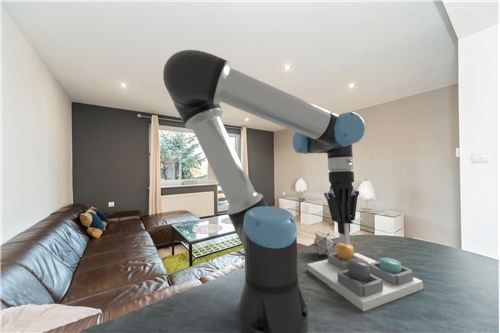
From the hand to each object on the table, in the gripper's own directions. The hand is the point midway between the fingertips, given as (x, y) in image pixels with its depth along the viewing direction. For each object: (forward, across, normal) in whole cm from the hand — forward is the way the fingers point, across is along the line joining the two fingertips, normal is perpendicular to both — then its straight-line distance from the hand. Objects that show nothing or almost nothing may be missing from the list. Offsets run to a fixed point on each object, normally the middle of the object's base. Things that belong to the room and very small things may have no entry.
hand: (344, 243), depth 60 cm
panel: (+9, 0, -5) cm, 10 cm away
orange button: (+4, 0, 0) cm, 4 cm away
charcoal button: (+4, -6, -10) cm, 13 cm away
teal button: (+6, +6, -10) cm, 13 cm away
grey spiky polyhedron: (+9, +2, +12) cm, 15 cm away
